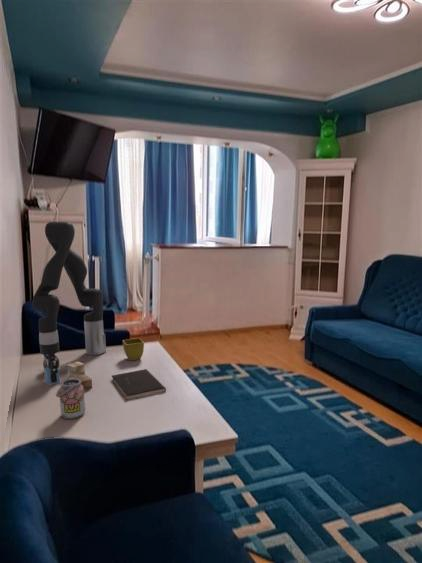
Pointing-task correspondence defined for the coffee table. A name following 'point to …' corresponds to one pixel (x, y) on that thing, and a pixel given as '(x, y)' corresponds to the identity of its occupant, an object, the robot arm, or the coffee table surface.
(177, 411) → the coffee table surface
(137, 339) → the flower pot
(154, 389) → the hardcover book
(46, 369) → the blue block
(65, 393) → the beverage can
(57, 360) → the brown oval piece
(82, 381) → the walnut base
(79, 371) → the beech block
